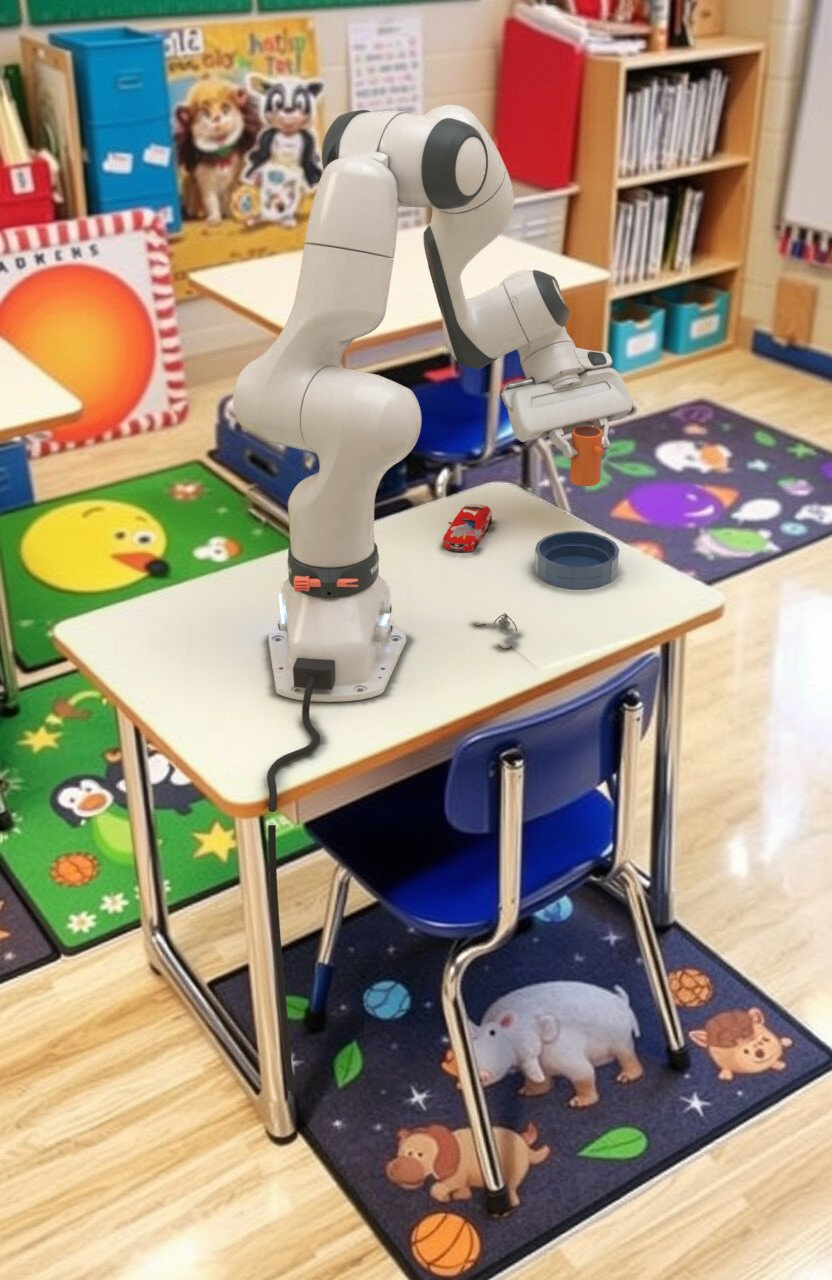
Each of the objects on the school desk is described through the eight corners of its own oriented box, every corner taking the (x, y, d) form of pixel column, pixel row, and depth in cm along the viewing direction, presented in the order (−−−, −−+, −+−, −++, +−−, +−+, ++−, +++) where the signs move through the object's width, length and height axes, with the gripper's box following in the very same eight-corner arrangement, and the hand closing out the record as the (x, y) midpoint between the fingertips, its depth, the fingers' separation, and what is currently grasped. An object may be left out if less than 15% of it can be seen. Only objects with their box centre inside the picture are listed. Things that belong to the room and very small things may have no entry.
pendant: (528, 641, 190) (529, 624, 189) (503, 651, 188) (503, 634, 187) (492, 618, 196) (492, 601, 194) (467, 627, 194) (467, 610, 192)
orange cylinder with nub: (564, 478, 215) (566, 429, 211) (588, 471, 217) (591, 423, 213) (586, 492, 211) (589, 442, 207) (611, 485, 213) (614, 436, 209)
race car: (472, 558, 212) (472, 535, 210) (438, 553, 213) (438, 530, 211) (497, 522, 222) (497, 499, 220) (464, 518, 224) (464, 495, 222)
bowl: (622, 592, 202) (623, 568, 200) (536, 593, 202) (537, 568, 200) (614, 554, 212) (615, 530, 210) (532, 554, 213) (533, 531, 210)
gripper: (505, 375, 207) (539, 458, 205) (618, 351, 215) (652, 431, 213) (489, 394, 213) (522, 476, 210) (599, 370, 221) (633, 448, 219)
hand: (588, 453), depth 212 cm, fingers closed on orange cylinder with nub, 4 cm apart
